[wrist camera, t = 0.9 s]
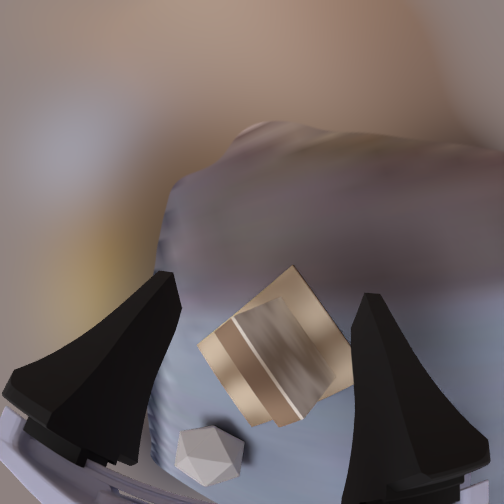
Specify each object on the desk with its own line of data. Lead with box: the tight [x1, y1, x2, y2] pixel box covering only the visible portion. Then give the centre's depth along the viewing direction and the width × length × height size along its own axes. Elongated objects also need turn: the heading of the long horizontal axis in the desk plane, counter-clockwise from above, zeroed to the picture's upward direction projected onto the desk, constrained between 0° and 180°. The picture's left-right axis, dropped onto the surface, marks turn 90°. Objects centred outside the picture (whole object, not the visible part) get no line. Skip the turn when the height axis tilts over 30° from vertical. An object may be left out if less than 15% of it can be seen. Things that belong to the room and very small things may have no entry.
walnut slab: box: [214, 297, 336, 427], centre depth 22 cm, size 9×2×7 cm, turn 41°
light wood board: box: [197, 265, 354, 427], centre depth 27 cm, size 12×16×1 cm
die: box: [175, 425, 245, 487], centre depth 28 cm, size 8×9×10 cm
